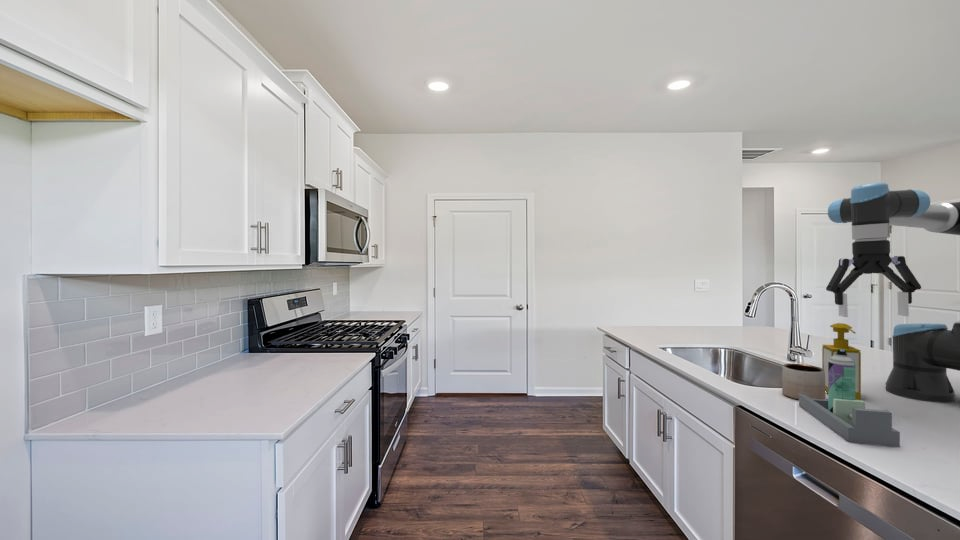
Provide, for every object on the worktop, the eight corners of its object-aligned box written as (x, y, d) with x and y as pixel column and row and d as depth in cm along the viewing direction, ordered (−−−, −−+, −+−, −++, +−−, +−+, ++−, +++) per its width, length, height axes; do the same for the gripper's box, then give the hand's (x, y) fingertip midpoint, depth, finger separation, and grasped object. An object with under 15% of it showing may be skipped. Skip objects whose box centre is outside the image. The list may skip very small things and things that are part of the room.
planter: (815, 393, 132) (815, 364, 132) (832, 404, 122) (832, 373, 122) (776, 390, 136) (776, 362, 135) (790, 400, 125) (790, 370, 125)
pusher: (862, 426, 105) (862, 400, 105) (875, 435, 100) (875, 407, 100) (833, 424, 107) (833, 398, 106) (844, 432, 102) (844, 405, 101)
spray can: (844, 418, 111) (844, 347, 110) (861, 427, 105) (861, 352, 105) (823, 418, 111) (823, 347, 111) (839, 426, 106) (839, 352, 105)
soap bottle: (839, 403, 123) (839, 327, 122) (822, 390, 134) (822, 321, 134) (869, 405, 120) (870, 328, 119) (849, 392, 132) (849, 322, 131)
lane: (838, 408, 118) (838, 381, 118) (899, 446, 94) (899, 413, 94) (799, 405, 121) (799, 379, 121) (848, 441, 97) (848, 409, 97)
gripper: (916, 237, 110) (918, 313, 111) (810, 243, 117) (812, 314, 118) (939, 236, 103) (941, 317, 104) (824, 242, 110) (826, 318, 111)
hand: (872, 316), depth 111 cm, fingers open, 13 cm apart
